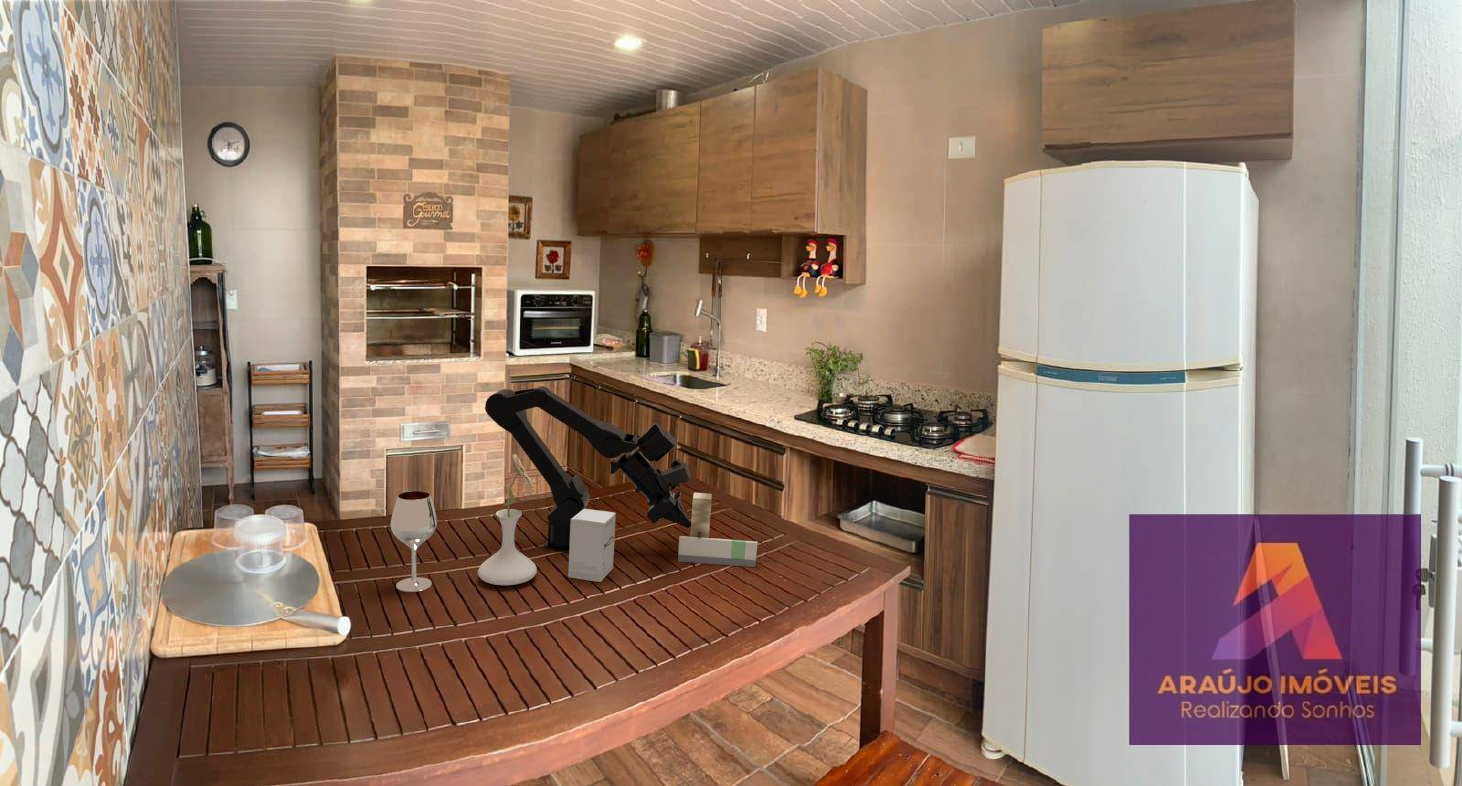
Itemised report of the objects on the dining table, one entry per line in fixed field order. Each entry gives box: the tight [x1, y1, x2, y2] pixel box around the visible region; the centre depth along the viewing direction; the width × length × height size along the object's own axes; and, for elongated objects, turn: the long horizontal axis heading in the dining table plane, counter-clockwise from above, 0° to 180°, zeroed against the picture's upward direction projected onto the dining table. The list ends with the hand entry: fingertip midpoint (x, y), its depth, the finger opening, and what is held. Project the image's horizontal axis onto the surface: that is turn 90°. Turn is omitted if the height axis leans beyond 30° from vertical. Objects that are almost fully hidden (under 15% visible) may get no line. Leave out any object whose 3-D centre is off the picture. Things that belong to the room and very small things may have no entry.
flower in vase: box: [477, 453, 538, 586], centre depth 159 cm, size 13×11×25 cm
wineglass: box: [390, 490, 438, 593], centre depth 153 cm, size 8×8×18 cm
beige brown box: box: [689, 492, 713, 538], centre depth 177 cm, size 5×6×12 cm
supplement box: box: [567, 508, 617, 583], centre depth 165 cm, size 7×7×13 cm
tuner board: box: [677, 535, 758, 568], centre depth 179 cm, size 17×8×6 cm, turn 90°
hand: (690, 526), depth 179 cm, fingers closed, pressing on beige brown box
